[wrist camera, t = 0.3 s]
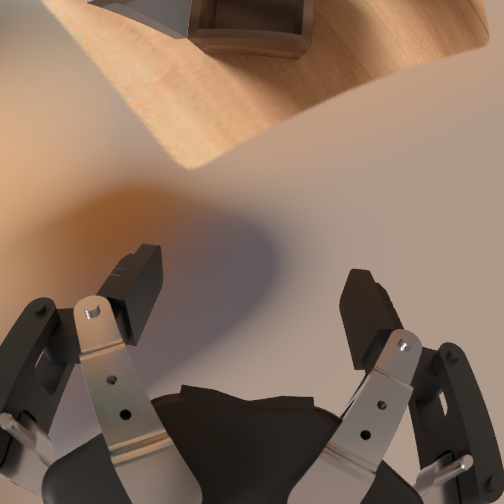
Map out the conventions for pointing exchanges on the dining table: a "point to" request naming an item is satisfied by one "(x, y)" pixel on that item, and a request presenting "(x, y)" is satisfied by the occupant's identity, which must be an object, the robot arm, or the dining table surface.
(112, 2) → the lid
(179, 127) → the dining table surface
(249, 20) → the walnut box
